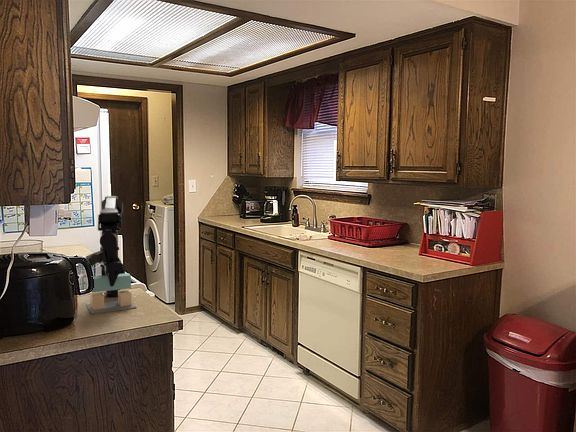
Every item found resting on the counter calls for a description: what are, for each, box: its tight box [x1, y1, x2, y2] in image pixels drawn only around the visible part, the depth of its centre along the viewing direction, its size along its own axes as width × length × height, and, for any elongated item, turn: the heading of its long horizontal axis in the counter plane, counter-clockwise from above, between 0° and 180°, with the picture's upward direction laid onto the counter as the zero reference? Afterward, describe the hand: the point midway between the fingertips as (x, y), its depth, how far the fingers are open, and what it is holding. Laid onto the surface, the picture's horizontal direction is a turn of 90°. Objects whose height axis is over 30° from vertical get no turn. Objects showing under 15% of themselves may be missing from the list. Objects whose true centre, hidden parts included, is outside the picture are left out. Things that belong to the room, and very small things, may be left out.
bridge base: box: [86, 288, 137, 315], centre depth 185 cm, size 12×16×6 cm
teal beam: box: [90, 272, 132, 293], centre depth 185 cm, size 4×14×5 cm, turn 120°
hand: (110, 284), depth 185 cm, fingers closed on teal beam, 4 cm apart
